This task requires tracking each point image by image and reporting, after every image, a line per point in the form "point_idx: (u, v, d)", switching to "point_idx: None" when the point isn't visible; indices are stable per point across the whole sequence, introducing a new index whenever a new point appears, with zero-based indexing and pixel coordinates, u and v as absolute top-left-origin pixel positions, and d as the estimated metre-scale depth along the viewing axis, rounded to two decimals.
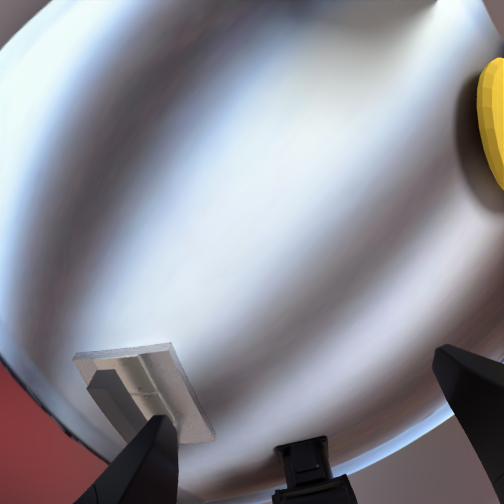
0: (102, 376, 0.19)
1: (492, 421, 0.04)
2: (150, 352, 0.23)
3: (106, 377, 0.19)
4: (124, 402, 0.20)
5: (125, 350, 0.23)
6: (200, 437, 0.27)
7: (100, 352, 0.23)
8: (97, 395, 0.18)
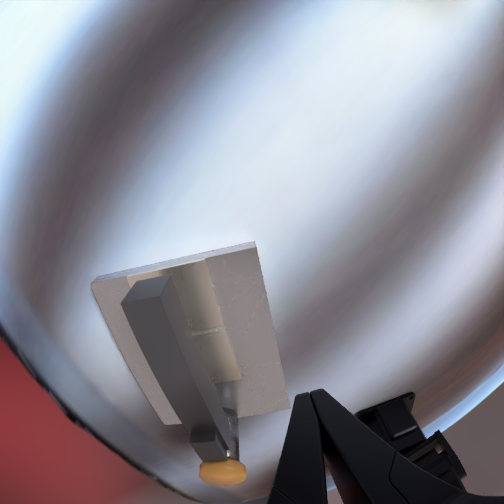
0: (149, 284, 0.13)
1: (348, 493, 0.04)
2: (225, 253, 0.16)
3: (157, 284, 0.13)
4: (183, 333, 0.14)
5: (180, 259, 0.17)
6: (271, 404, 0.20)
7: (137, 268, 0.17)
8: (139, 315, 0.12)
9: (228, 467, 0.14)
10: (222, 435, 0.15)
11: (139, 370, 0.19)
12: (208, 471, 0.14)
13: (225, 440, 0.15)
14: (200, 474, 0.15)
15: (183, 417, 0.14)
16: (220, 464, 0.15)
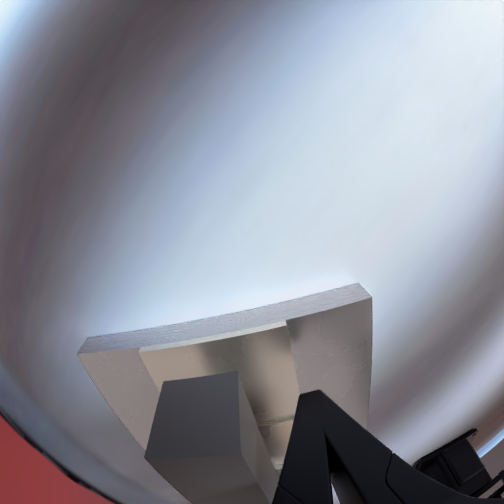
0: (198, 402, 0.06)
1: (345, 494, 0.04)
2: (321, 310, 0.09)
3: (218, 404, 0.06)
4: (263, 466, 0.06)
5: (233, 318, 0.10)
6: None
7: (155, 331, 0.10)
8: (189, 473, 0.05)
9: None
10: None
11: None
12: None
13: None
14: None
15: None
16: None
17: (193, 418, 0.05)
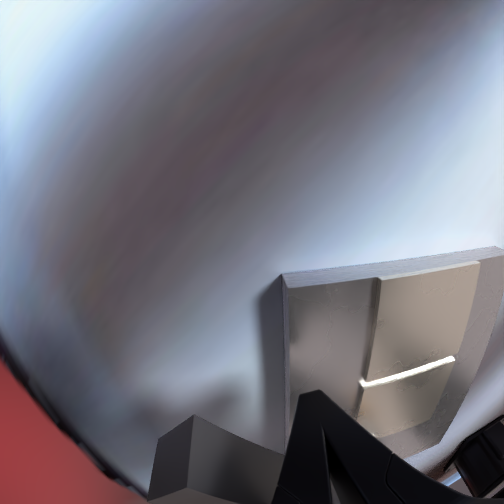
0: (172, 450, 0.06)
1: (345, 494, 0.04)
2: (490, 257, 0.09)
3: (181, 448, 0.06)
4: (268, 480, 0.06)
5: (437, 258, 0.10)
6: (428, 442, 0.13)
7: (375, 266, 0.10)
8: None
9: None
10: None
11: None
12: None
13: None
14: None
15: None
16: None
17: (168, 464, 0.06)
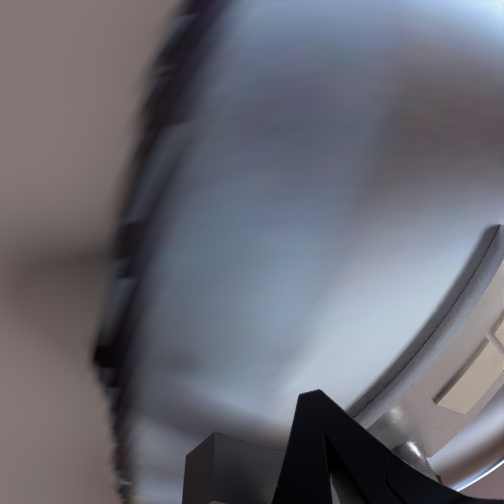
0: (198, 466, 0.07)
1: (345, 494, 0.04)
2: None
3: (206, 465, 0.06)
4: None
5: None
6: (433, 448, 0.14)
7: None
8: None
9: None
10: None
11: (440, 366, 0.10)
12: None
13: None
14: None
15: None
16: None
17: (196, 480, 0.06)
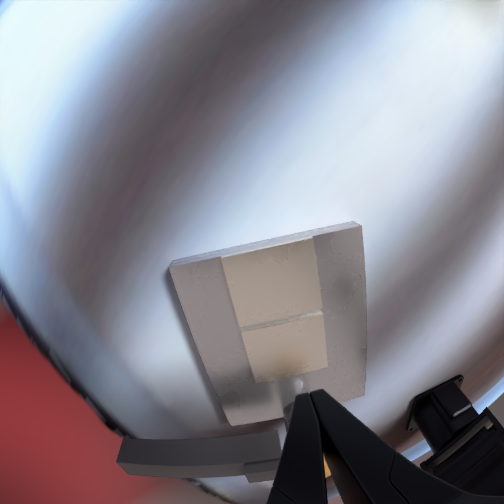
0: None
1: (348, 493, 0.04)
2: (332, 231, 0.15)
3: None
4: (151, 452, 0.16)
5: (279, 238, 0.16)
6: (348, 392, 0.19)
7: (228, 249, 0.16)
8: (132, 470, 0.15)
9: None
10: (255, 459, 0.15)
11: (215, 367, 0.18)
12: None
13: (266, 457, 0.15)
14: None
15: (225, 474, 0.15)
16: None
17: None
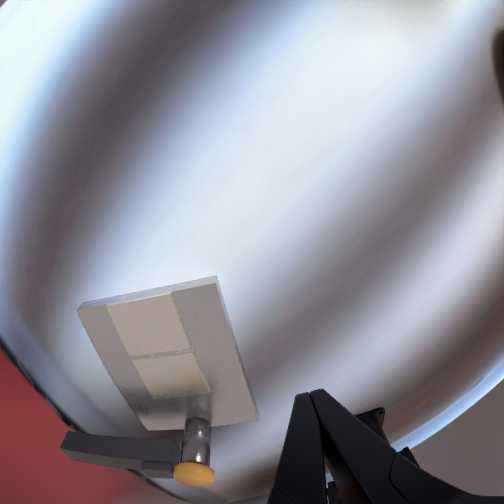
0: None
1: (348, 493, 0.04)
2: (189, 288, 0.18)
3: None
4: (83, 443, 0.18)
5: (151, 290, 0.19)
6: (240, 415, 0.22)
7: (116, 297, 0.19)
8: (72, 456, 0.18)
9: (173, 474, 0.16)
10: (150, 459, 0.17)
11: (122, 383, 0.20)
12: (183, 482, 0.17)
13: (158, 458, 0.18)
14: (191, 485, 0.17)
15: (133, 467, 0.18)
16: None
17: None
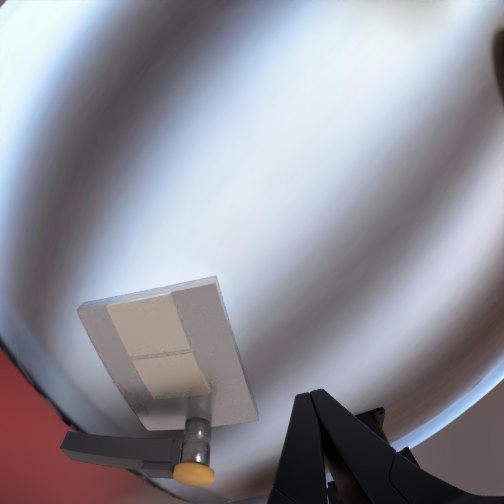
0: None
1: (348, 493, 0.04)
2: (188, 288, 0.18)
3: None
4: (83, 443, 0.18)
5: (151, 291, 0.19)
6: (240, 416, 0.22)
7: (116, 297, 0.19)
8: (72, 456, 0.18)
9: (173, 474, 0.16)
10: (150, 459, 0.17)
11: (122, 383, 0.20)
12: (183, 482, 0.17)
13: (158, 458, 0.18)
14: (191, 485, 0.17)
15: (134, 468, 0.18)
16: None
17: None
